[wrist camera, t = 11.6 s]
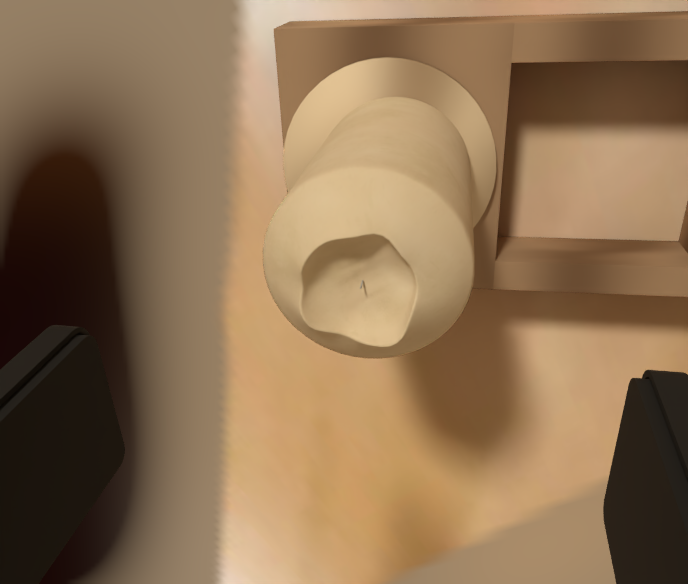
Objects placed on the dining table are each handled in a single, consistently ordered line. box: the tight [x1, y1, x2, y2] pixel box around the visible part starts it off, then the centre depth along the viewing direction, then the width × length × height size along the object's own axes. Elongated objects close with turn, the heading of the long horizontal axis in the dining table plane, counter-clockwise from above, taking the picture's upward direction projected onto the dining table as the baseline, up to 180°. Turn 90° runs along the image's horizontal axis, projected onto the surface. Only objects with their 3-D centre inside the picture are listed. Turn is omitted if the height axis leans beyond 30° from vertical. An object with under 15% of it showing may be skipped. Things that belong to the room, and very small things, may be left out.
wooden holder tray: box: [274, 11, 688, 297], centre depth 24 cm, size 18×10×3 cm, turn 92°
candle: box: [263, 97, 475, 358], centre depth 20 cm, size 6×6×10 cm
